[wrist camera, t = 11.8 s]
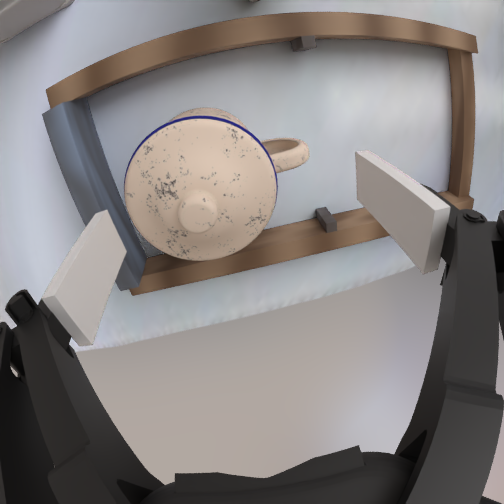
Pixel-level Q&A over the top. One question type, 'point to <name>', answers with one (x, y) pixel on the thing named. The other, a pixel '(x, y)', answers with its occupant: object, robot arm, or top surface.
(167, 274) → the open rectangular wooden frame
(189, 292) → the top surface
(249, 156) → the teacup with lid
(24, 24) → the phone holder
